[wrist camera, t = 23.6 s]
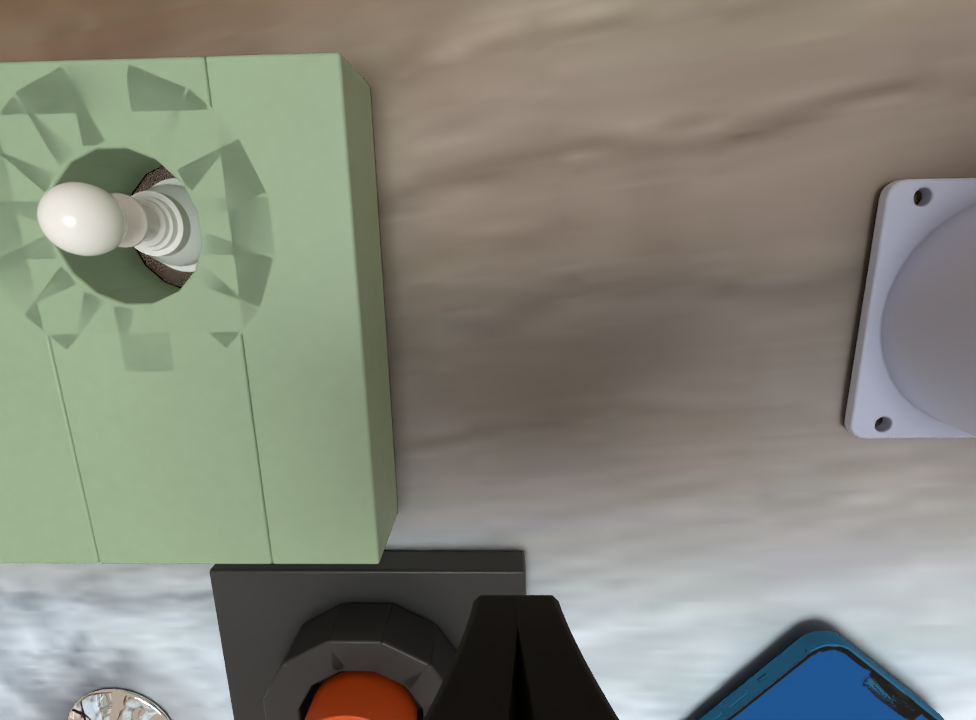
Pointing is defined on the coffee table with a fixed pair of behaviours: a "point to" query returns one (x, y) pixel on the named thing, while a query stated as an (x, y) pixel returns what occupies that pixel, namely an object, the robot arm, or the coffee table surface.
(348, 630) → the panel
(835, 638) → the smartphone
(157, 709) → the wineglass
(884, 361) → the robot arm
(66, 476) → the pod holder
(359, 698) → the button
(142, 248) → the chess pawn
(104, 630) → the coffee table surface
